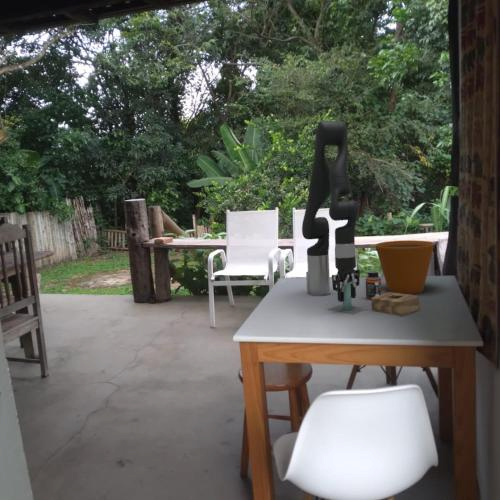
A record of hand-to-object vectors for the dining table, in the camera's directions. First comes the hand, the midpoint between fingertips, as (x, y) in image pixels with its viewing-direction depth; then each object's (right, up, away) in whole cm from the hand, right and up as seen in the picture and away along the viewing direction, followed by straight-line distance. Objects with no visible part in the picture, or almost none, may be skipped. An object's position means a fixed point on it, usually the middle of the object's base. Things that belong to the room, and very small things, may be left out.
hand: (346, 299), depth 180 cm
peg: (0, -4, +1) cm, 4 cm away
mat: (0, -4, +1) cm, 4 cm away
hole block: (+17, -4, -3) cm, 18 cm away
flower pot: (+31, +1, +29) cm, 42 cm away
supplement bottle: (+14, -2, +15) cm, 21 cm away
